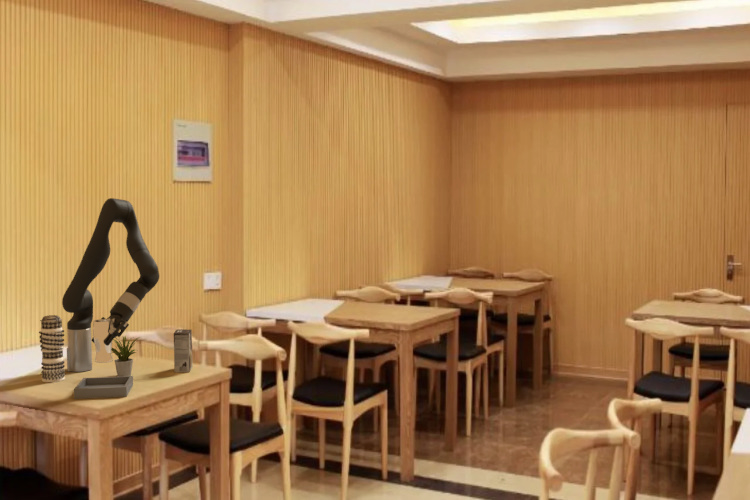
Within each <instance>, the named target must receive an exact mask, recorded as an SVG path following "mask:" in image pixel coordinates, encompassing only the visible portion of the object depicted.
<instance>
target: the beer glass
mask: <svg viewBox="0 0 750 500" xmlns="http://www.w3.org/2000/svg"><path fill="white" fill-rule="evenodd" d="M111 330H112V320H111V319H107V318H105V319H94V320H92V336H93V337H92V338H94V343H93V344H94V346H95V361H94V362H95V363H99V364H100V363H101V364H102V363H103V364H104V363H106V364H107V363H111V362H113V360H114V359H113V354H112V350H111V347H112V346H113V345H112V343H113V341H112V342H111V343H110V344H109V345H108V346H107V345H105V344H104V341H105V339H106V338H107V337H108V335H109V334H110V332H111ZM112 348H113V347H112Z"/></svg>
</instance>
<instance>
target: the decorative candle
mask: <svg viewBox="0 0 750 500" xmlns="http://www.w3.org/2000/svg"><path fill="white" fill-rule="evenodd" d="M62 322H63V319H62V318H61V317H60V316H59V315H55V314H53V315H51V314H50V315H44V316H43V317H42V319H41V320H40V325H41V327H40V331H39V332H38V334H39V343H40V344H39V345H40V352H42V353H41V354H42V356H41V369H42V371H41V372H40V373H41V381H42V382H44V383H55V382H56V383H57V382H60V381H61V382H62V381H64V380H65V379H66V377H65V376H66V374H65V372H66V370H65V369H64V368H65V361H64V355H63V354H64V353H63V351H64V350H65V348H64V347H63V346H64V345H65V343H64V342H65V339H64V338H62V337H64V336H65V330H64V329H63V323H62Z"/></svg>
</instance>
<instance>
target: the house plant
mask: <svg viewBox="0 0 750 500" xmlns="http://www.w3.org/2000/svg"><path fill="white" fill-rule="evenodd" d="M133 338H135V337H132V339H133ZM140 338H141V336H139V337H137V338H135V339H133V340H132V341H131V338H130V339H128V340H127V335H125V336H122V342H121V340H119V339H118V338H117V337H116V338H115V339H113V342H114V343H115V344H116V346H115V344H113V342H112V344H113V345H114V346H115V347H116V348H117V349H116V348H114V347H111V352H112V353H113V354H114V355H115V356H116V357H117V358H118V359H117V358H116V359H114V365H115V369H116V370H115V371H116V374H117V376H116V377H120V376H132V369H133V363H134V359H133V358H130V357H131V355H133V354H134V355H135V354H137V352H135V351H136V349H132V347H134V345H135V344H136V343H137V341H138V339H140ZM130 341H131V342H130ZM126 342H127V343H126ZM130 343H131V344H130ZM113 345H112V346H113Z"/></svg>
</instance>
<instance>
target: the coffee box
mask: <svg viewBox="0 0 750 500" xmlns="http://www.w3.org/2000/svg"><path fill="white" fill-rule="evenodd" d="M192 336H193V334H192V329H184V328H183V329H182V328H181V329H175V331H174V333H173V359H174V360H173V363H174V367H173V368H174V373H191V371H192V369H193V339H192V338H193V337H192Z"/></svg>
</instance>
